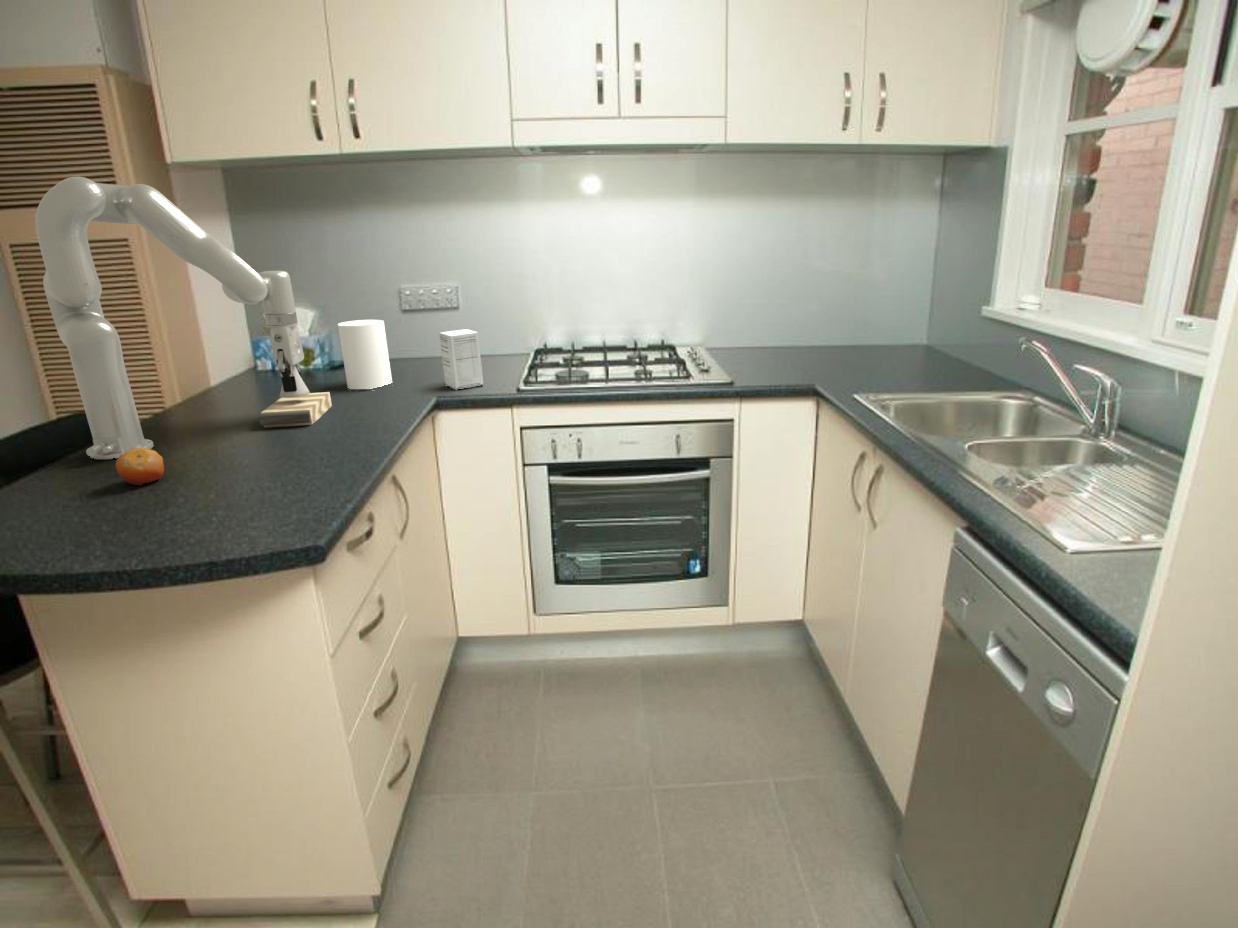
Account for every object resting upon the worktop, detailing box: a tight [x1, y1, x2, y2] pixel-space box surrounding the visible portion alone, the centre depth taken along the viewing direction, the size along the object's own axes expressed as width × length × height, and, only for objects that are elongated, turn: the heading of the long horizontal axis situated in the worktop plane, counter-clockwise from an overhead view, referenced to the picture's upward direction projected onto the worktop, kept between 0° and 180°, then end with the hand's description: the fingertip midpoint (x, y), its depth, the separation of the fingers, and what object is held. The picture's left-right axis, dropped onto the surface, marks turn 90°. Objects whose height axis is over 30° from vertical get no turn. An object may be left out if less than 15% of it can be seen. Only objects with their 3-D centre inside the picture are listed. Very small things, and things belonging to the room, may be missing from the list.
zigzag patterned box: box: [258, 391, 333, 429], centre depth 191 cm, size 22×12×4 cm, turn 7°
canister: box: [337, 319, 393, 390], centre depth 222 cm, size 14×14×20 cm
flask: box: [279, 363, 311, 398], centre depth 188 cm, size 7×7×10 cm
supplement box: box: [438, 328, 484, 388], centre depth 218 cm, size 10×9×17 cm
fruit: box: [115, 447, 165, 486], centre depth 144 cm, size 8×8×8 cm
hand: (293, 388), depth 189 cm, fingers closed on flask, 4 cm apart
